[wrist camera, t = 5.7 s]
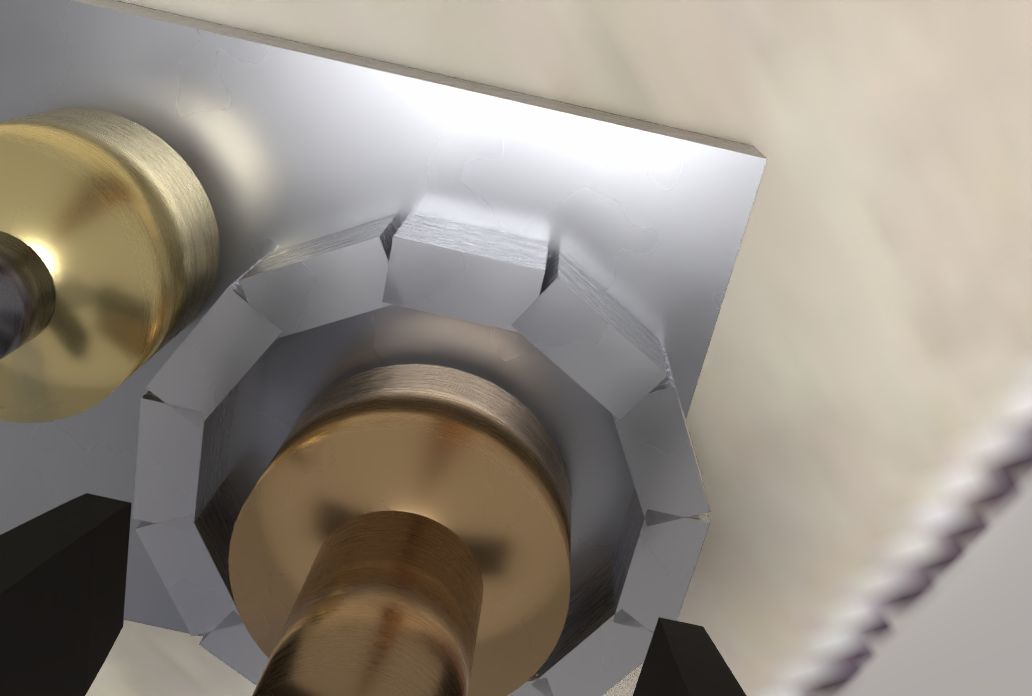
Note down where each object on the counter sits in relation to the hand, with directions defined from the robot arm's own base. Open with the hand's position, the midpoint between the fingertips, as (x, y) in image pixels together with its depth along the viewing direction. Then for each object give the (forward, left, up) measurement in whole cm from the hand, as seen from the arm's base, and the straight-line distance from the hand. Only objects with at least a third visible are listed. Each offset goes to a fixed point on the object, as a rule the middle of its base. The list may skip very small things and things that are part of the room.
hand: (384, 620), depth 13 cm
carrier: (+1, +2, -5) cm, 6 cm away
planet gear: (0, 0, -4) cm, 4 cm away
